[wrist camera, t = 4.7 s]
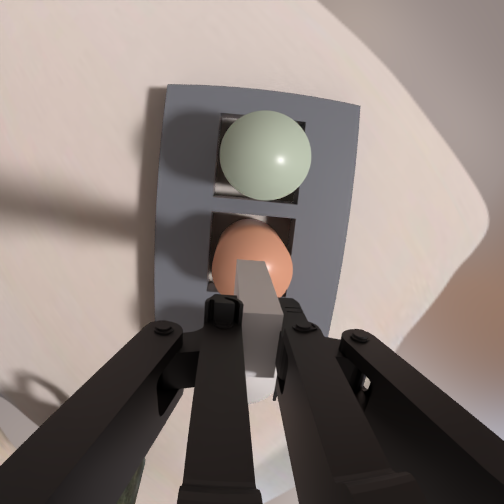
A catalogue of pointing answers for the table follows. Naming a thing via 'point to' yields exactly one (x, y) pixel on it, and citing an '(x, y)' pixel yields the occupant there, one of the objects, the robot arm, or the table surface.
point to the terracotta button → (251, 255)
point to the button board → (205, 201)
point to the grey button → (260, 388)
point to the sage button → (265, 155)
